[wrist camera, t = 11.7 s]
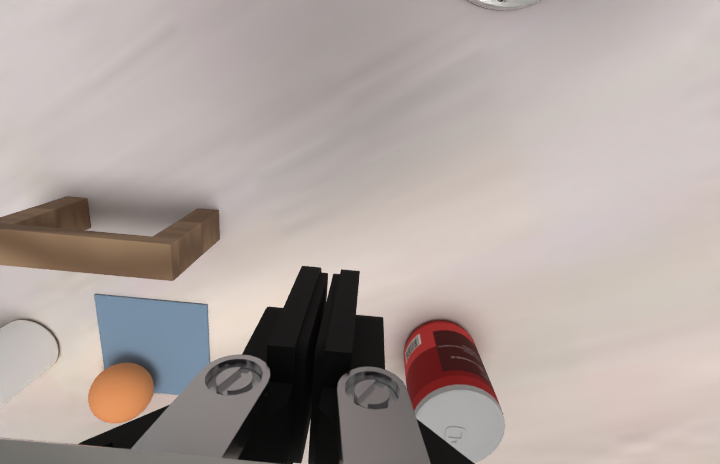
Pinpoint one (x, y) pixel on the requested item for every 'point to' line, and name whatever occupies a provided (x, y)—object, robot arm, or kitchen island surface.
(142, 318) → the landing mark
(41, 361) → the can
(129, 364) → the ball
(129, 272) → the bridge
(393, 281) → the kitchen island surface
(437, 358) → the canned food
